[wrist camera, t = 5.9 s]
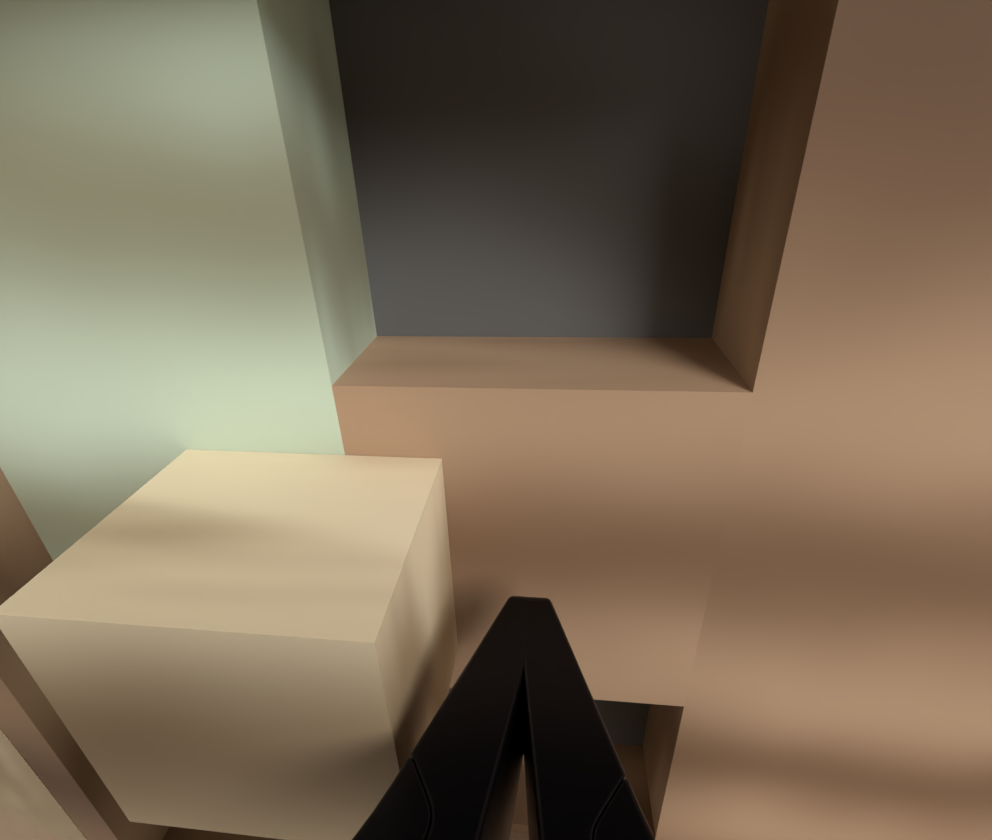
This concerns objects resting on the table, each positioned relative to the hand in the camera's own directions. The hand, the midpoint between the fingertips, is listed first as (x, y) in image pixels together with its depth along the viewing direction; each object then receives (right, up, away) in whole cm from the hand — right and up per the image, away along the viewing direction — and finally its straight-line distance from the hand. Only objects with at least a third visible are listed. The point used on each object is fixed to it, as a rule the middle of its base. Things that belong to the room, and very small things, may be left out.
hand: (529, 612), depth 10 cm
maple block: (-4, +1, +1) cm, 4 cm away
